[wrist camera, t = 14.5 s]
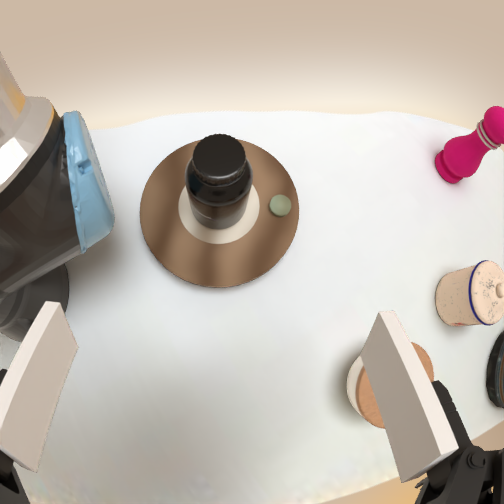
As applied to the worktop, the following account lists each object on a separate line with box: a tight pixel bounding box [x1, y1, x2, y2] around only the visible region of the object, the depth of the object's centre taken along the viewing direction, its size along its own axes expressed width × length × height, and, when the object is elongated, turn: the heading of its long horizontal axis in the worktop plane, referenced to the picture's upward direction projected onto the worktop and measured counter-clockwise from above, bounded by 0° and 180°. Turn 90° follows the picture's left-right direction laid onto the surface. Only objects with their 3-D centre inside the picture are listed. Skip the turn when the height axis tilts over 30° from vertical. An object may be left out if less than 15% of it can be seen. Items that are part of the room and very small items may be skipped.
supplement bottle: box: [185, 134, 253, 230], centre depth 32 cm, size 7×7×12 cm
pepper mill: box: [435, 106, 504, 183], centre depth 37 cm, size 7×7×20 cm
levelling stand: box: [140, 139, 299, 287], centre depth 39 cm, size 20×20×4 cm
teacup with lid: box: [436, 260, 504, 326], centre depth 36 cm, size 12×9×12 cm
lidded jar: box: [347, 342, 434, 429], centre depth 33 cm, size 11×11×9 cm
